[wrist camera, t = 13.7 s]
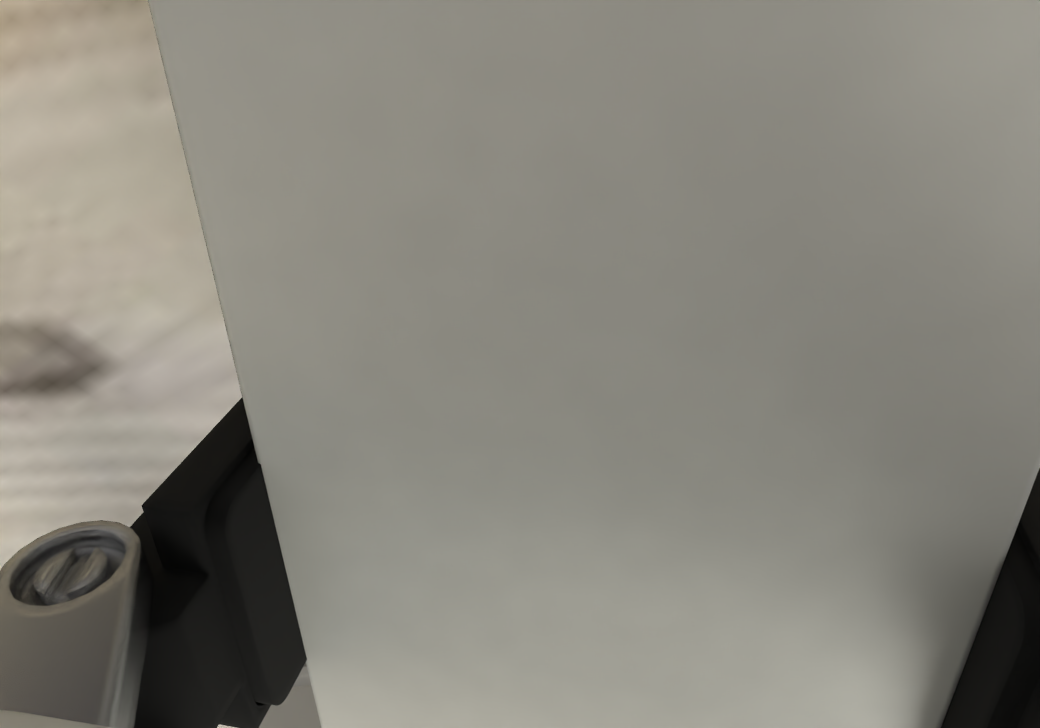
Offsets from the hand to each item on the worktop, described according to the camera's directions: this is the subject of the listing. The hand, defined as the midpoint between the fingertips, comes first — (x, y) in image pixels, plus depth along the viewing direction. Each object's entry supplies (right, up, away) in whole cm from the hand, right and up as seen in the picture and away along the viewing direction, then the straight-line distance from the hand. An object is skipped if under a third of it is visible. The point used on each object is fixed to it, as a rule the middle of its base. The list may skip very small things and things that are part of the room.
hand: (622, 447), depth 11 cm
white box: (0, 0, 0) cm, 1 cm away
